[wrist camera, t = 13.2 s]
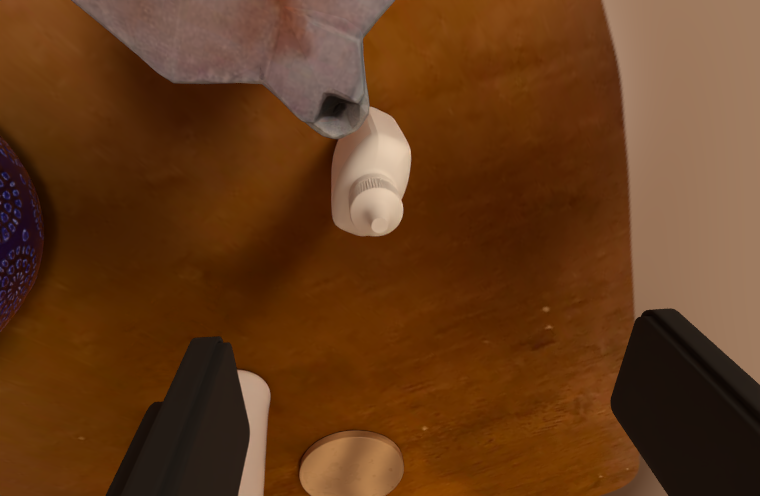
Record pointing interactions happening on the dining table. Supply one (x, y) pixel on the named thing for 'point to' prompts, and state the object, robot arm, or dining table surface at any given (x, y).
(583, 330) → the dining table surface
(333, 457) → the cork trivet
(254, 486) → the drinking glass
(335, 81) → the moka pot
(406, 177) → the eye dropper bottle
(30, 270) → the planter
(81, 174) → the dining table surface
